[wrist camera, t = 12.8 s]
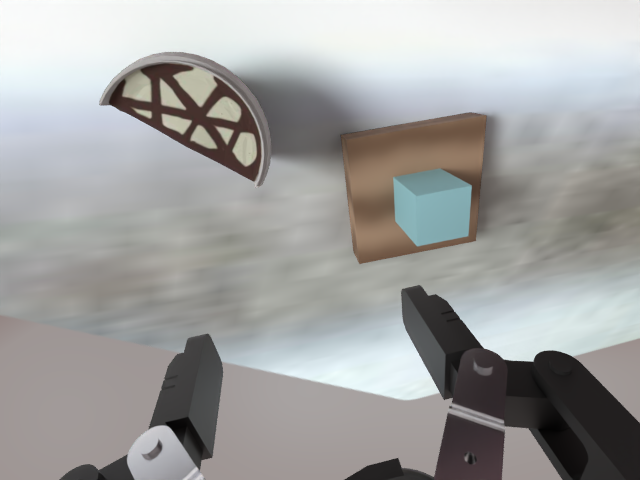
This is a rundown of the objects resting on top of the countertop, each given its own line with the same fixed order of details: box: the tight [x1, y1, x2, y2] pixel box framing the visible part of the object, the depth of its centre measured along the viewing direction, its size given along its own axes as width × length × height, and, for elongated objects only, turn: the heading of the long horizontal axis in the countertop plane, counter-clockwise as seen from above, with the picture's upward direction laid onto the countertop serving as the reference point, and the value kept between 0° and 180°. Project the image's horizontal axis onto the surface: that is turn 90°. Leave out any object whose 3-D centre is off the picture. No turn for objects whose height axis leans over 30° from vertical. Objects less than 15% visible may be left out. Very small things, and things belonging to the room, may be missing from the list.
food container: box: [99, 52, 271, 188], centre depth 27 cm, size 12×6×10 cm, turn 58°
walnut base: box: [341, 113, 487, 264], centre depth 36 cm, size 14×14×3 cm
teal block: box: [393, 168, 472, 246], centre depth 32 cm, size 5×5×6 cm
